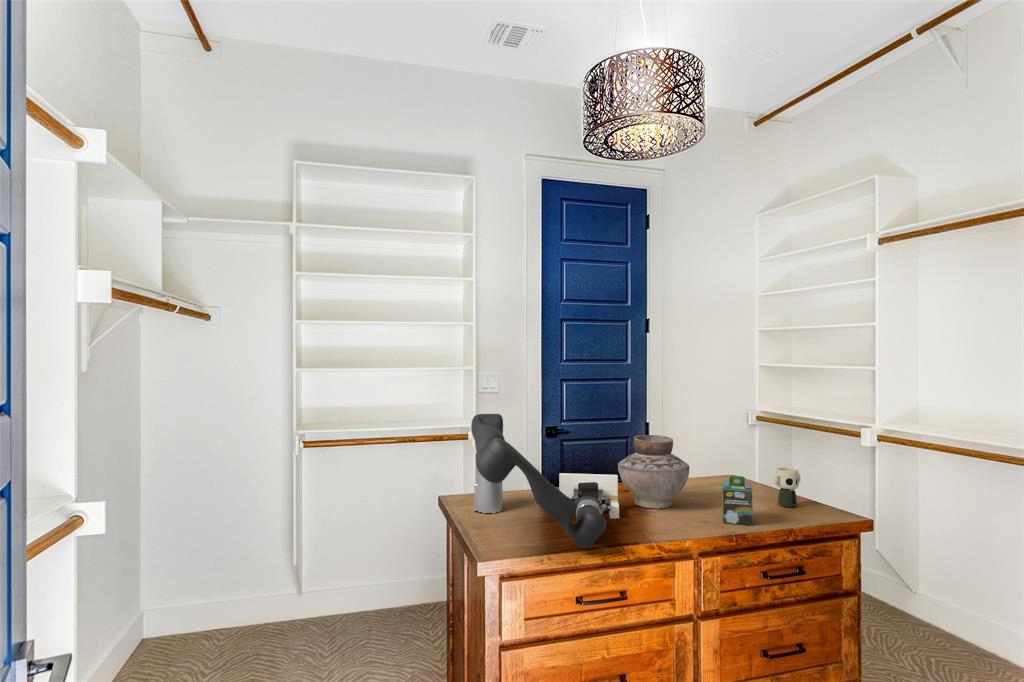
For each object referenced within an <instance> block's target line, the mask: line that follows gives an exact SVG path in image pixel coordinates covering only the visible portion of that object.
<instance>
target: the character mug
mask: <svg viewBox="0 0 1024 682" xmlns="http://www.w3.org/2000/svg"><path fill="white" fill-rule="evenodd" d="M773 480H774V485H776V486H777V487H778V488H780V489H779V491H778V497H777V498H778V499H777V504H779V505H781V506H782V507H787V508H789V507H790V508H794V507H798V501H797V493H796V491H795V490H797V489H798V488H799V486H800V485H799V484H800V483H801V474H800V473H799V470H798V469H796V468H793V467H785V466H784V467H777V468H776V473H775V475H774V479H773Z"/></svg>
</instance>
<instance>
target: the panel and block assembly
mask: <svg viewBox="0 0 1024 682" xmlns="http://www.w3.org/2000/svg"><path fill="white" fill-rule="evenodd" d="M558 474H559V475H558V476H559V477H558V478H559V479H558V480H559V486H558V487H559V489H558V490H560V491H561V492H562V493H564V494H565V495H566V496H567V497H570V499H571V498H572V496H574V487H578V484H579V483H587V482H596V483H598V487H602V488H603V495H607V496H618V498H609V499H611V509H610V511H608V515H609V519H613V518H614V519H617V518H618V519H620V505H619V504H620V503H619V494H618V491H619V490H618V489H619V486H618V485H619V483H618V481H619V480H618V479H619V476H618V474H604V473H603V474H599V473H598V474H594V473H564V472H563V473H562V472H560V473H558ZM607 499H608V498H605V500H607ZM604 511H606V510H605V509H604V508H603V512H604ZM606 512H607V511H606Z"/></svg>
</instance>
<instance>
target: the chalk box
mask: <svg viewBox="0 0 1024 682" xmlns="http://www.w3.org/2000/svg"><path fill="white" fill-rule="evenodd" d="M728 477H729V478H728V482H727V481H723V482H722V483H721V497H722V503H721V504H722V507H721V508H722V523H723V524H733V525H740V524H743V525H742V526H750V525H752V526H753V525H754V524H753V489H752V485H751V483H750V482H745V481H746V480H745V476H742V475H729V476H728ZM735 480H739V482H735Z"/></svg>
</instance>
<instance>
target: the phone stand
mask: <svg viewBox="0 0 1024 682" xmlns="http://www.w3.org/2000/svg"><path fill="white" fill-rule="evenodd" d="M585 496H591V497H594V498H599V495H598V483H596V482H587V483H579V484H578V497H580V498H582V497H585Z"/></svg>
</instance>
